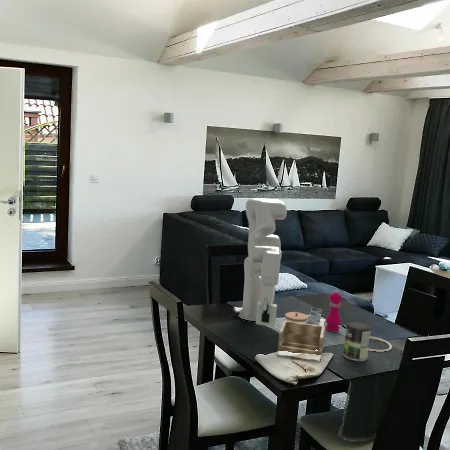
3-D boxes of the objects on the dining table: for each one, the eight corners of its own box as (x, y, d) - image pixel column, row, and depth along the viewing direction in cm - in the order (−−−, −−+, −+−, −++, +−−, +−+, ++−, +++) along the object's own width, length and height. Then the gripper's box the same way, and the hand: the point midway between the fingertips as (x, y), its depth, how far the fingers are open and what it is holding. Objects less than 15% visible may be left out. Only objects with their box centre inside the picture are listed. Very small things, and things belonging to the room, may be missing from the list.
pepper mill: (340, 333, 262) (344, 292, 259) (324, 331, 263) (328, 290, 260) (340, 328, 269) (344, 288, 266) (325, 326, 270) (329, 286, 267)
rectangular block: (255, 323, 235) (257, 304, 233) (256, 321, 238) (258, 301, 236) (274, 326, 234) (276, 306, 232) (275, 324, 236) (277, 304, 235)
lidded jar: (309, 330, 263) (311, 311, 261) (302, 337, 253) (304, 317, 252) (287, 325, 267) (289, 307, 266) (280, 332, 258) (282, 313, 256)
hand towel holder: (375, 346, 237) (340, 330, 254) (374, 355, 238) (339, 339, 255) (401, 339, 247) (366, 325, 263) (399, 349, 248) (365, 333, 264)
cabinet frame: (277, 354, 230) (279, 332, 229) (282, 342, 245) (284, 320, 244) (320, 361, 226) (322, 338, 225) (322, 348, 241) (325, 326, 240)
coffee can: (347, 360, 229) (350, 328, 227) (340, 351, 239) (343, 320, 237) (371, 361, 230) (375, 329, 228) (363, 351, 240) (366, 321, 238)
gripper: (264, 273, 240) (260, 313, 244) (257, 283, 225) (253, 326, 228) (281, 275, 239) (277, 315, 242) (275, 286, 223) (271, 328, 227)
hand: (265, 320), depth 235 cm, fingers closed on rectangular block, 3 cm apart
